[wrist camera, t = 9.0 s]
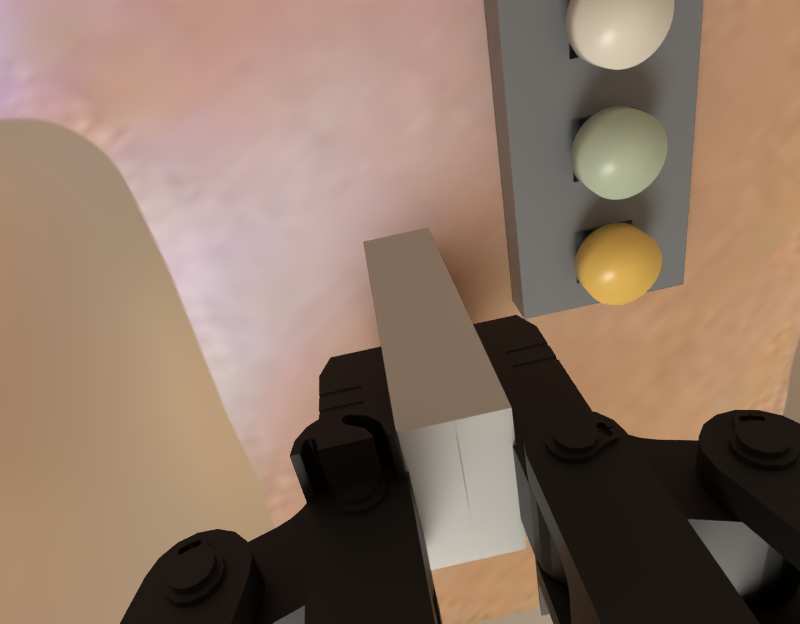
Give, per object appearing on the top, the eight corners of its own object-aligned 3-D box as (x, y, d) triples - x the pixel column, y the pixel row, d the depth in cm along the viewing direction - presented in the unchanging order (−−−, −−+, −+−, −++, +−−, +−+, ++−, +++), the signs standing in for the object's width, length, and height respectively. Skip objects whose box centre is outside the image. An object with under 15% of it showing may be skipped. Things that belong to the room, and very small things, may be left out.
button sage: (554, 108, 36) (580, 121, 33) (634, 91, 37) (669, 102, 33) (558, 187, 39) (583, 207, 35) (632, 171, 39) (665, 189, 35)
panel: (479, -42, 34) (493, -45, 31) (679, -83, 34) (709, -90, 31) (512, 300, 45) (524, 319, 42) (662, 267, 45) (683, 284, 42)
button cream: (547, -27, 33) (577, -31, 29) (636, -46, 33) (677, -52, 29) (552, 70, 35) (579, 78, 32) (634, 52, 35) (671, 59, 32)
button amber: (559, 219, 40) (583, 241, 36) (631, 203, 40) (663, 224, 36) (562, 284, 43) (585, 312, 39) (630, 269, 43) (660, 295, 39)
